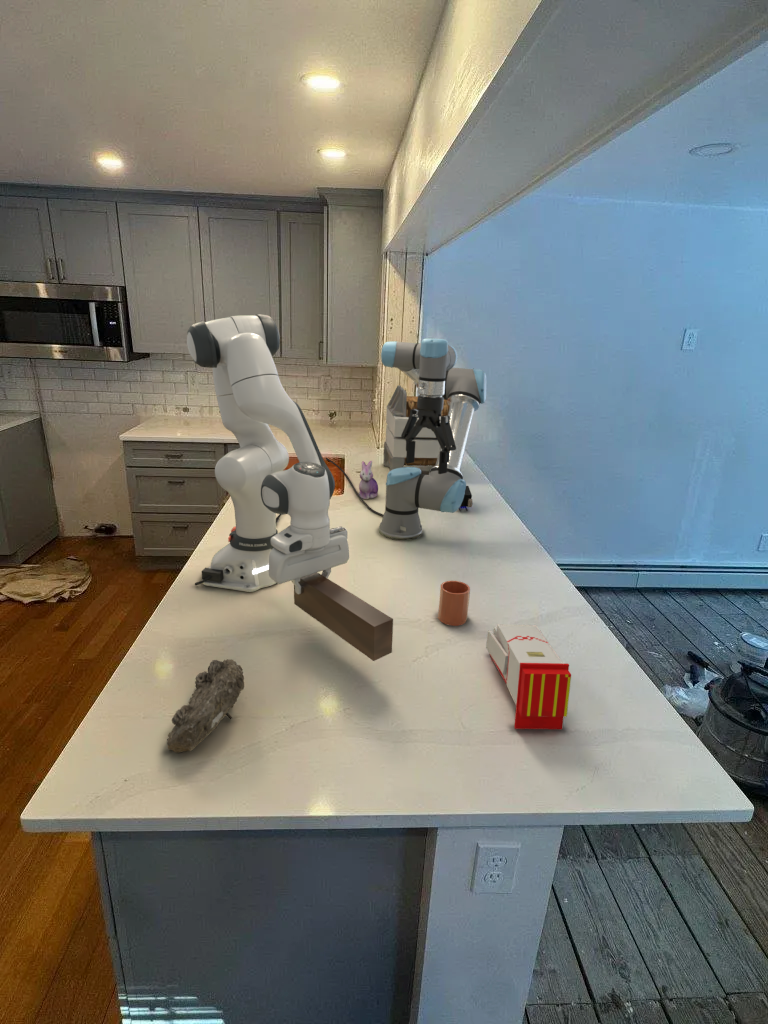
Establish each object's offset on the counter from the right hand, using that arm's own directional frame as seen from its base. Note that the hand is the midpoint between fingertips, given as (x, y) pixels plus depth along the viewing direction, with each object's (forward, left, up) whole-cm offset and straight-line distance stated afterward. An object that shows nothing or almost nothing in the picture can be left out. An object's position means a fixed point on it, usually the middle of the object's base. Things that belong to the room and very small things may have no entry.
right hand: (425, 467), depth 168 cm
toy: (+58, -26, -31) cm, 71 cm away
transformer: (-74, +72, -31) cm, 107 cm away
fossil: (+28, -82, -31) cm, 91 cm away
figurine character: (-28, +51, -31) cm, 66 cm away
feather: (-61, -13, -31) cm, 70 cm away
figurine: (-60, +28, -31) cm, 73 cm away
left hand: (+14, -50, -19) cm, 55 cm away
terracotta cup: (+30, -17, -31) cm, 46 cm away
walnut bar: (+26, -50, -23) cm, 61 cm away
